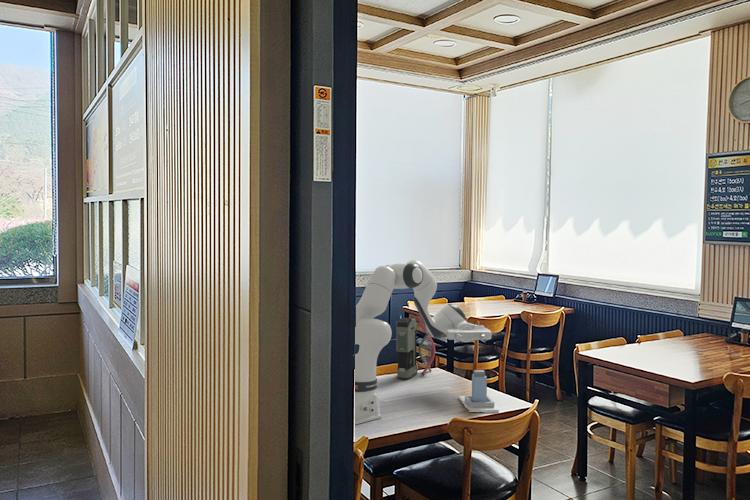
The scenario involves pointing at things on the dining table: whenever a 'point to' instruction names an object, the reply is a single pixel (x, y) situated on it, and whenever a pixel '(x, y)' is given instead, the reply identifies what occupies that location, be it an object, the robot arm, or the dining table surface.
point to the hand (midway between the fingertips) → (472, 337)
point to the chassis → (479, 405)
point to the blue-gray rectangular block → (479, 386)
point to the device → (406, 348)
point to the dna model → (426, 347)
